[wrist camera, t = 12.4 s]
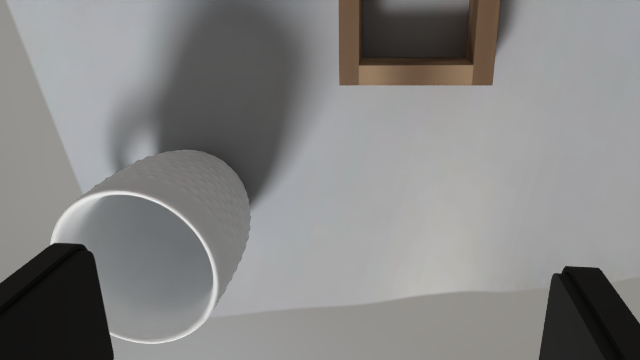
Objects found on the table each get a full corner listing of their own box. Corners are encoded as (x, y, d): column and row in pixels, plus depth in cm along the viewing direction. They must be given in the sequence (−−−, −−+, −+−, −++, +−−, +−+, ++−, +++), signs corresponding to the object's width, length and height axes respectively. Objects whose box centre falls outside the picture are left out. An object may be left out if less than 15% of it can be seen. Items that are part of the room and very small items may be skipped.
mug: (127, 263, 48) (37, 360, 35) (83, 151, 44) (-35, 214, 32) (282, 240, 45) (241, 336, 32) (248, 117, 41) (187, 173, 29)
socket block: (495, -79, 34) (508, -86, 30) (482, 75, 38) (492, 85, 34) (343, -73, 35) (337, -79, 32) (344, 75, 39) (339, 85, 35)
